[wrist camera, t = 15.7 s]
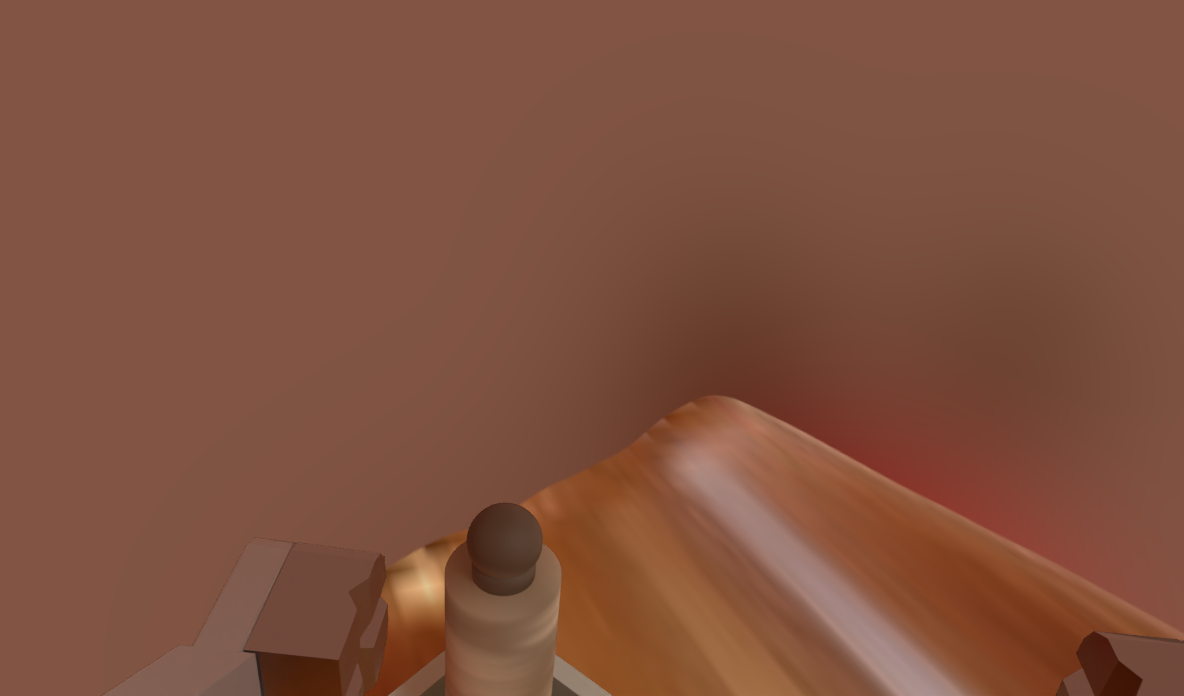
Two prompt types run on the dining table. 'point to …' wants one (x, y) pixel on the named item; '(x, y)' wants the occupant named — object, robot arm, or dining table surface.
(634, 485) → the dining table surface
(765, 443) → the dining table surface
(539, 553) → the pepper mill
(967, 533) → the dining table surface
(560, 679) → the box
